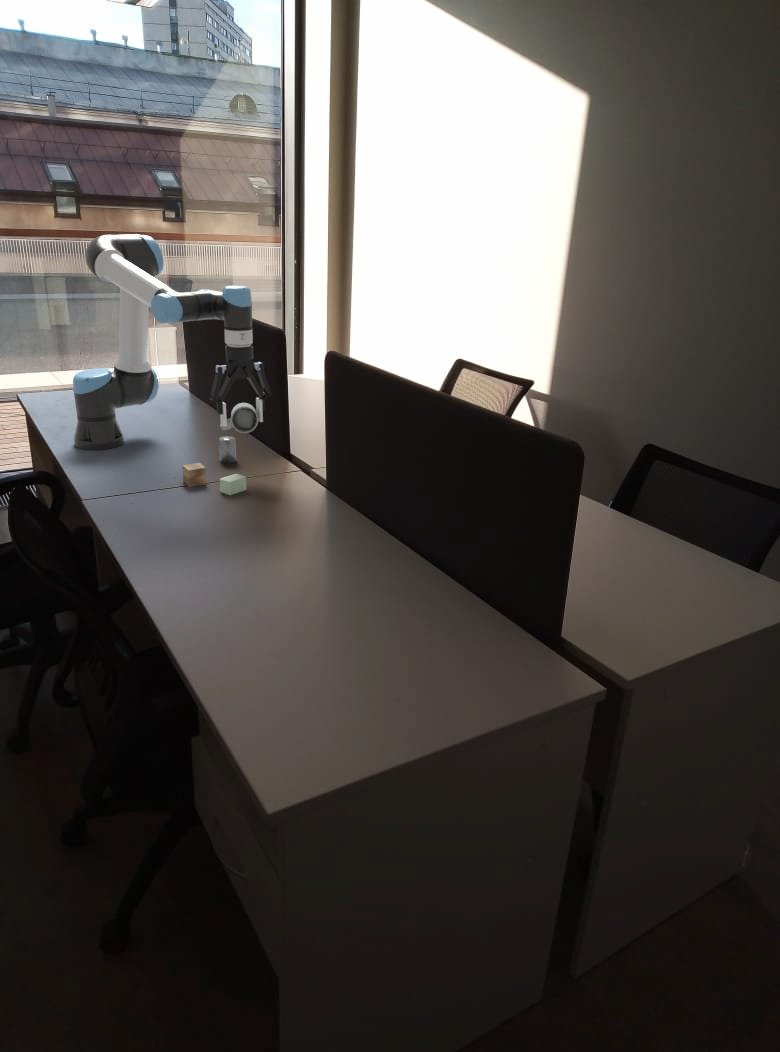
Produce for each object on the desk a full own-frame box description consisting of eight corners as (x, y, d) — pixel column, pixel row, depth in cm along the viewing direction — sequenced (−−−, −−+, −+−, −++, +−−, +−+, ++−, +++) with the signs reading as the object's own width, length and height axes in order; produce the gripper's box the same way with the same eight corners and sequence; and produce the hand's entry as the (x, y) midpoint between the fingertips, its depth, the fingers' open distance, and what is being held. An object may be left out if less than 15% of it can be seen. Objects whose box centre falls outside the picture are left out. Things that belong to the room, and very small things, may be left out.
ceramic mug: (256, 424, 226) (255, 399, 223) (258, 432, 219) (257, 406, 216) (220, 426, 224) (218, 400, 221) (221, 434, 216) (219, 407, 213)
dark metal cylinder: (223, 463, 234) (222, 441, 232) (217, 459, 238) (216, 437, 236) (238, 461, 237) (237, 439, 234) (232, 457, 241) (231, 435, 238)
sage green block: (230, 495, 210) (229, 481, 208) (220, 492, 212) (219, 478, 211) (246, 490, 214) (245, 476, 213) (236, 486, 217) (235, 473, 215)
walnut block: (189, 487, 215) (188, 470, 213) (183, 481, 219) (182, 465, 217) (206, 484, 217) (205, 467, 215) (200, 479, 221) (199, 462, 219)
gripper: (204, 349, 202) (208, 430, 211) (282, 344, 214) (283, 421, 223) (194, 345, 208) (198, 424, 217) (271, 340, 220) (272, 415, 228)
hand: (241, 423), depth 220 cm, fingers closed on ceramic mug, 10 cm apart
